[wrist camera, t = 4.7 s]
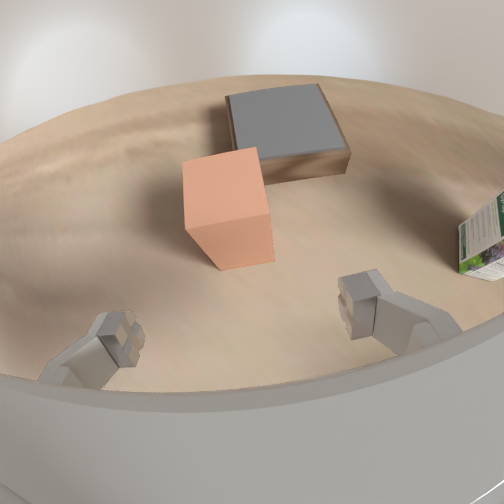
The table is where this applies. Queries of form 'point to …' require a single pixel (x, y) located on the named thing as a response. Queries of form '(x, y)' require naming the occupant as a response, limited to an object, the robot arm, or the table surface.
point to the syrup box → (483, 241)
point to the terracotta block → (228, 208)
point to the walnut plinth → (288, 132)
